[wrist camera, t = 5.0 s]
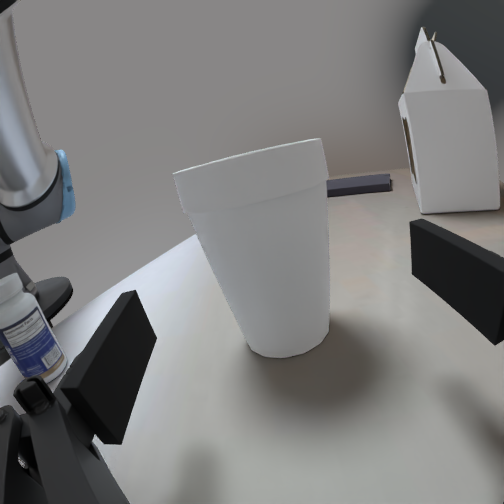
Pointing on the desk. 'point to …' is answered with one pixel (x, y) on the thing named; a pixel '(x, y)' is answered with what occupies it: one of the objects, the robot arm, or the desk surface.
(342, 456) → the desk surface
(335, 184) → the notebook
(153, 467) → the desk surface
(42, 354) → the pill bottle
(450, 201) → the gable box
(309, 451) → the desk surface
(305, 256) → the foam cup
